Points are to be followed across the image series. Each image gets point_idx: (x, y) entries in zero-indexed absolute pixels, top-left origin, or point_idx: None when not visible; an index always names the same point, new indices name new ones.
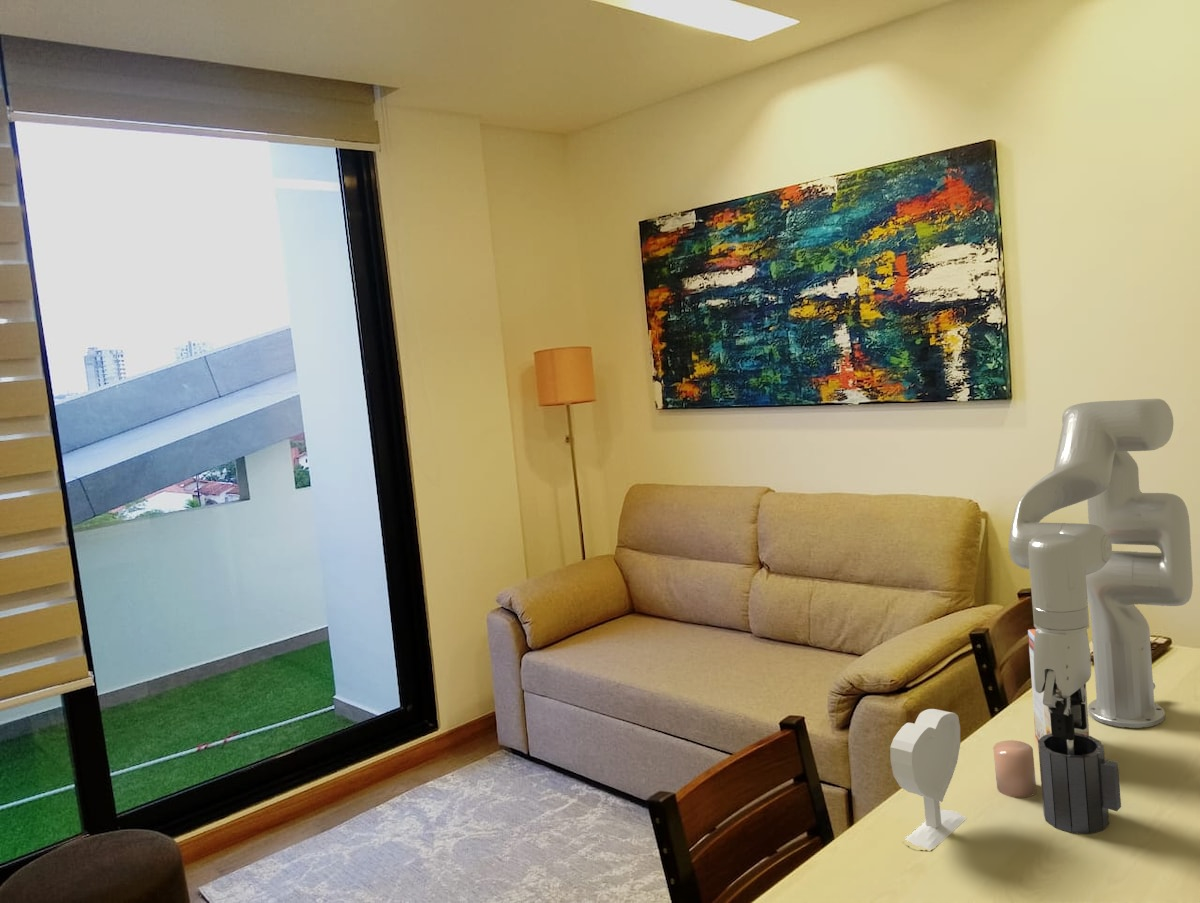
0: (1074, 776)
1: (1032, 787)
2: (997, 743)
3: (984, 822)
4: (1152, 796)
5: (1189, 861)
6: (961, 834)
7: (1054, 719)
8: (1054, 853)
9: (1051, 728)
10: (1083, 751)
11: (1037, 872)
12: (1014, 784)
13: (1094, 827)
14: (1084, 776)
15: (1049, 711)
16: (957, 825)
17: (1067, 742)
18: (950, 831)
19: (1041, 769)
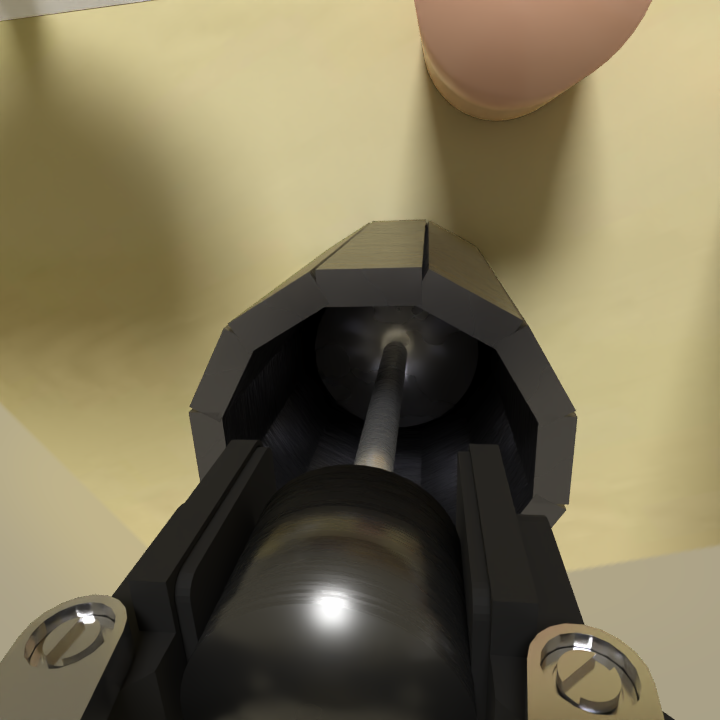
0: None
1: (490, 116)
2: None
3: (181, 76)
4: (686, 458)
5: None
6: (58, 54)
7: (125, 585)
8: (172, 351)
9: (211, 467)
10: (516, 427)
11: (60, 353)
12: (426, 59)
13: None
14: None
15: (50, 617)
16: (91, 3)
17: (357, 457)
18: (38, 8)
19: (272, 290)
